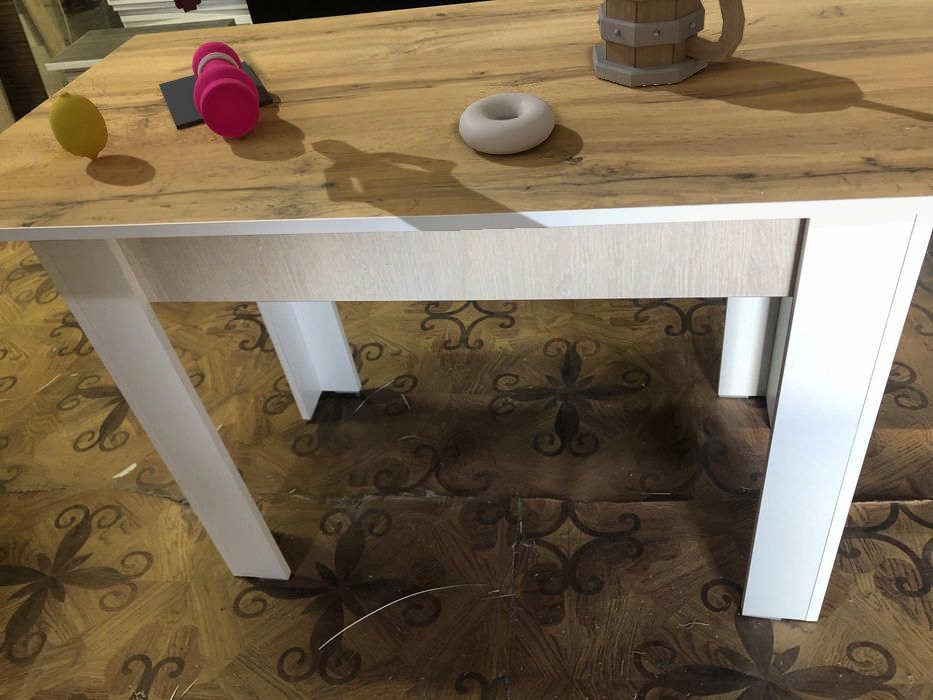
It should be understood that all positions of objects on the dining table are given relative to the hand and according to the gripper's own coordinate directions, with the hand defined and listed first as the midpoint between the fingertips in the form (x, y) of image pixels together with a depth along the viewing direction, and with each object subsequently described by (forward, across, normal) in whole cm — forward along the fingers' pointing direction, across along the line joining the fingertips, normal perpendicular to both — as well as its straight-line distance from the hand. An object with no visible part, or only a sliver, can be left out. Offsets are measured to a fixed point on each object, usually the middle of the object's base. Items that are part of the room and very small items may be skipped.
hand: (187, 4), depth 87 cm
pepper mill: (0, 0, +14) cm, 14 cm away
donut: (-11, -25, +29) cm, 40 cm away
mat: (+14, 0, +4) cm, 15 cm away
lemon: (+7, +16, +11) cm, 21 cm away
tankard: (-8, -48, +27) cm, 56 cm away
